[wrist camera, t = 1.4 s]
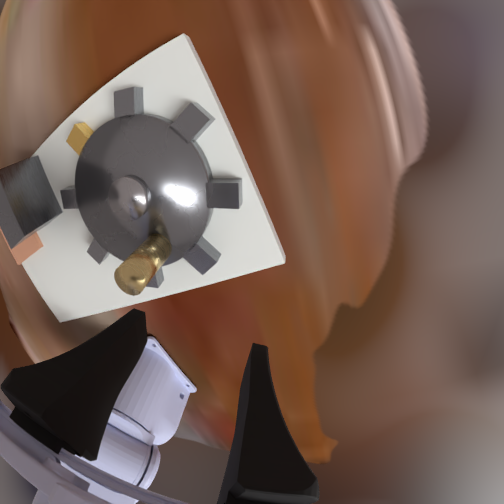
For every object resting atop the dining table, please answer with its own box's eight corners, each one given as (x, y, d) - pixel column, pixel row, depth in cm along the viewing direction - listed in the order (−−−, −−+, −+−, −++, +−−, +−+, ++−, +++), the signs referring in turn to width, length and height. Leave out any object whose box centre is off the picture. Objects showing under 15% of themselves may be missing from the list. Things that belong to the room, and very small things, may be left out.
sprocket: (271, 247, 19) (262, 297, 14) (123, 292, 23) (91, 332, 18) (185, 53, 13) (140, 33, 8) (50, 154, 17) (1, 172, 13)
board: (285, 256, 20) (284, 267, 19) (64, 317, 29) (57, 325, 27) (189, 36, 13) (179, 31, 12) (-1, 203, 22) (-9, 208, 21)
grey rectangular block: (63, 212, 20) (24, 236, 16) (46, 225, 21) (11, 249, 17) (38, 155, 18) (-4, 170, 13) (22, 173, 19) (-15, 190, 14)
